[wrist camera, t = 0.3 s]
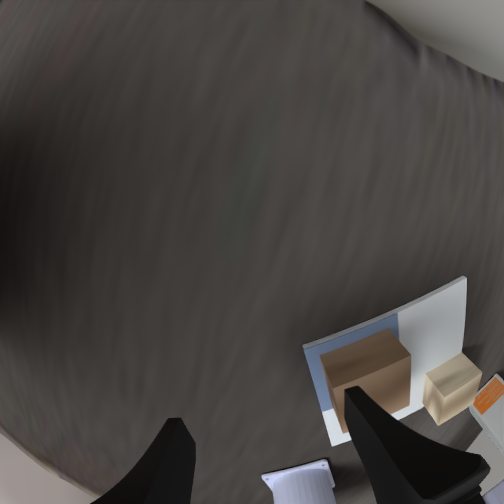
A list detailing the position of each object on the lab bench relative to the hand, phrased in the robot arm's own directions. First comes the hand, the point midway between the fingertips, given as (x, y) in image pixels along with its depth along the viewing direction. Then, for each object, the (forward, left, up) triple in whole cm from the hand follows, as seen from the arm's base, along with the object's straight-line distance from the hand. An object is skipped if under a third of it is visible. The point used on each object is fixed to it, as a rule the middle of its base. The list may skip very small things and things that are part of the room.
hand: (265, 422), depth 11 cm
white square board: (-11, -11, -10) cm, 18 cm away
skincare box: (-26, -26, -10) cm, 38 cm away
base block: (-8, -7, -9) cm, 14 cm away
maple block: (-15, -16, -9) cm, 24 cm away
